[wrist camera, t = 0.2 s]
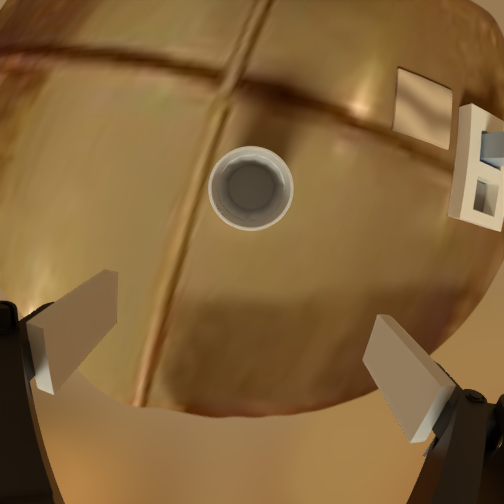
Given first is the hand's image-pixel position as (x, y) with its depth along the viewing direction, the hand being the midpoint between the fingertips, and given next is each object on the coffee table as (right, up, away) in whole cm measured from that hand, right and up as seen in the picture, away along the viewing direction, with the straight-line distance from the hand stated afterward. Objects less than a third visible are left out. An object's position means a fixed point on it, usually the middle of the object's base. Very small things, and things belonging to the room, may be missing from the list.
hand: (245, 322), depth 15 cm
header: (+37, +17, +25) cm, 47 cm away
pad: (+26, +25, +23) cm, 42 cm away
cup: (0, +12, +26) cm, 29 cm away
